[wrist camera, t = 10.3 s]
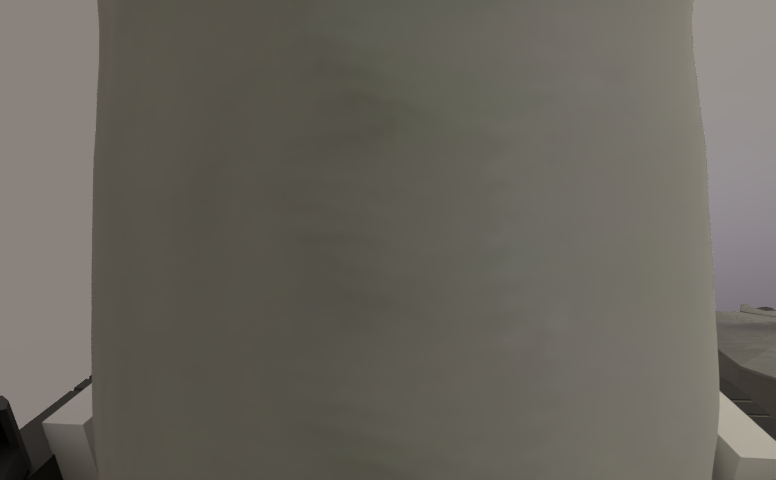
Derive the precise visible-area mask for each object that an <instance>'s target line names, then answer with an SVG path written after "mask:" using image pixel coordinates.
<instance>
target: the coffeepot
mask: <svg viewBox="0 0 776 480" xmlns="http://www.w3.org/2000/svg"><path fill="white" fill-rule="evenodd" d="M715 317H716V331H717V346H718V363H719V376H721V377H723V378H724V379H726V380H728V381H730V382H732V383H733V384H734V385H735V386H736V387H738V388H739V389H740V390H741V391H742V392H744V393H745V394H746V395H747V396H748V397H750V398H751V399H752V402H753V403H757V404H758V405H759V406H760V407H762V408H763V409H764V410H765V411H766V412H768V413H769V414H770V417H771V418H775V419H776V310H774V309H772V308H769V307H761V308H752V307H750V306H749V305H747V304H742V305H741V309H740V312H716V311H715Z"/></svg>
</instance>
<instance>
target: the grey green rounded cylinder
mask: <svg viewBox="0 0 776 480" xmlns="http://www.w3.org/2000/svg"><path fill="white" fill-rule="evenodd" d="M97 1H98V16H99V73H98V90H97V117H96V135H95V150H94V168H93V227H92V329H91V344H92V345H91V349H92V414H93V429H94V442H95V453H96V461H97V469H98V477H99V480H711V479H712V471H713V464H714V456H715V450H716V445H717V436H718V423H719V410H720V396H719V363H718V346H717V331H716V317H715V298H714V275H713V256H712V242H711V227H710V214H709V197H708V173H707V159H706V145H705V138H704V130H703V123H702V115H701V107H700V99H699V92H698V84H697V76H696V68H695V61H694V53H693V36H692V12H693V0H97Z"/></svg>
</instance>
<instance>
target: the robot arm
mask: <svg viewBox="0 0 776 480" xmlns="http://www.w3.org/2000/svg"><path fill="white" fill-rule="evenodd" d="M719 396H720V410H719V423H718V436H717V445H716V450H715V456H714V464H713V471H712V479H711V480H776V419H775V418H771V417H770V414H769V413H768V412H766V411H765V410H764V409H763V408H762V407H760V406H759V405H758V404H757V403H753V402H752V399H751V398H750V397H748V396H747V395H746V394H745V393H744V392H742V391H741V390H740V389H739V388H738V387H736V386H735V385H734V384H733V383H732V382H730V381H728V380H726V379H724V378H723V377H721V376H719ZM0 480H99V477H98V469H97V461H96V453H95V442H94V429H93V414H92V375H91V376H90V378H89V379H85V380H84V381H83V382H81V383H80V384H79V385H77V386H76V387H75V388H74V391H70V392H68V393H67V394H66V395H64V396H63V397H62V398H60V399H59V400H58V401H57V402H55V403H54V404H53V405H51V406H50V407H49V408H47V409H46V410H45V411H44V412H42V413H41V414H40V415H39V416H37V417H36V418H34V419H33V420H32V421H30V422H29V423H28V424H26V425H25V426H24V427H23V428H21V429H20V430H19V429H18V426H17V423H16V420H15V418H14V415H13V412H12V410H11V407H10V404H9V401H8V400H7V399H6V398H4V397H3V396H0Z"/></svg>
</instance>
